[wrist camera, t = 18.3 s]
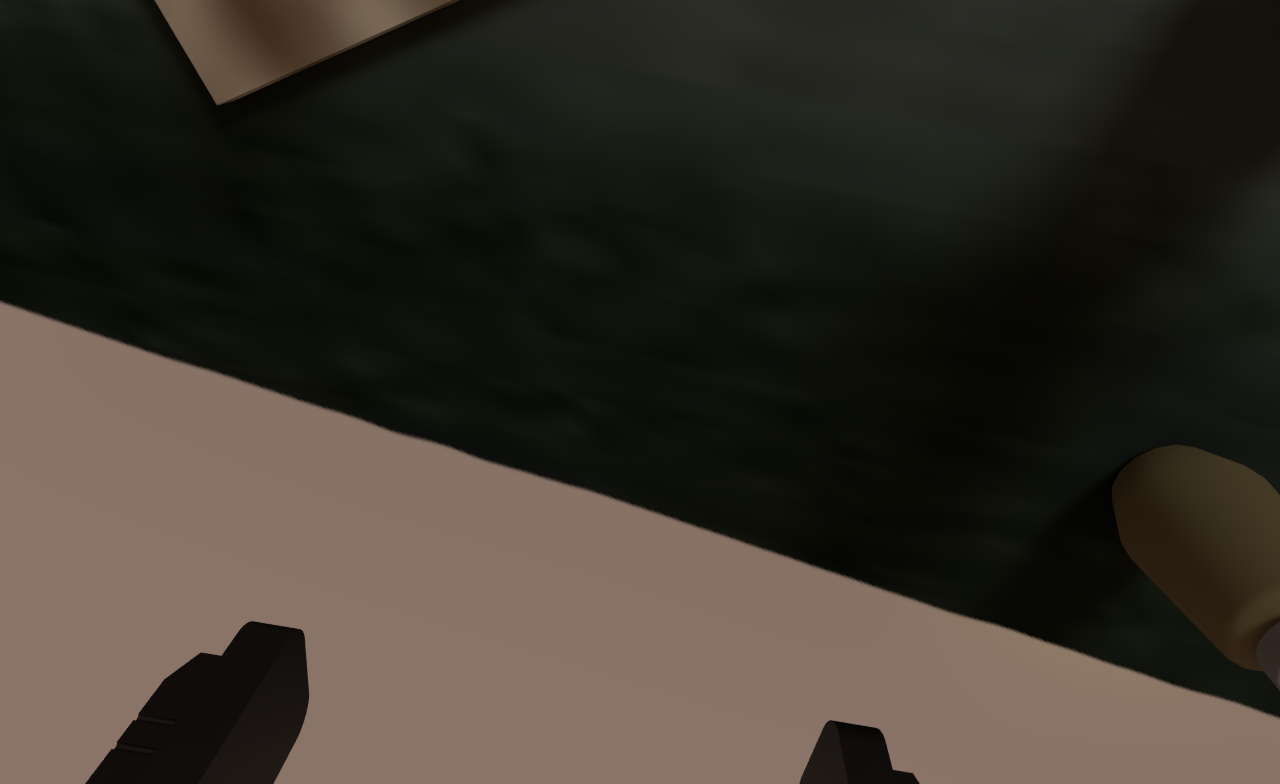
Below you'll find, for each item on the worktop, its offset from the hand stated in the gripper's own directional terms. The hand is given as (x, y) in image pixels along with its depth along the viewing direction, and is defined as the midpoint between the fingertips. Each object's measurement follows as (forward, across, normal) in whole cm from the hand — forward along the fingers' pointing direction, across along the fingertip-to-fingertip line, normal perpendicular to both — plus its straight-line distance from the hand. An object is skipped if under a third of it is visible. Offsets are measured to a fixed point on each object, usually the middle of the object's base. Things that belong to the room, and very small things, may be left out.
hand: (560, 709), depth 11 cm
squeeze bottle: (+32, -34, +12) cm, 48 cm away
